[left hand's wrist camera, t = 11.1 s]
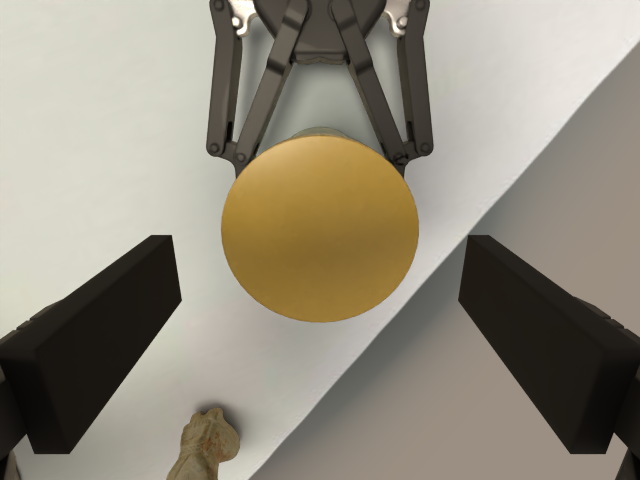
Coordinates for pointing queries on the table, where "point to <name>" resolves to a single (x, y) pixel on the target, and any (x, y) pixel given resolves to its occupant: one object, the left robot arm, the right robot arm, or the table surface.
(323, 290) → the lid
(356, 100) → the table surface
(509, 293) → the left robot arm
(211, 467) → the sculpture
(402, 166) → the right robot arm
